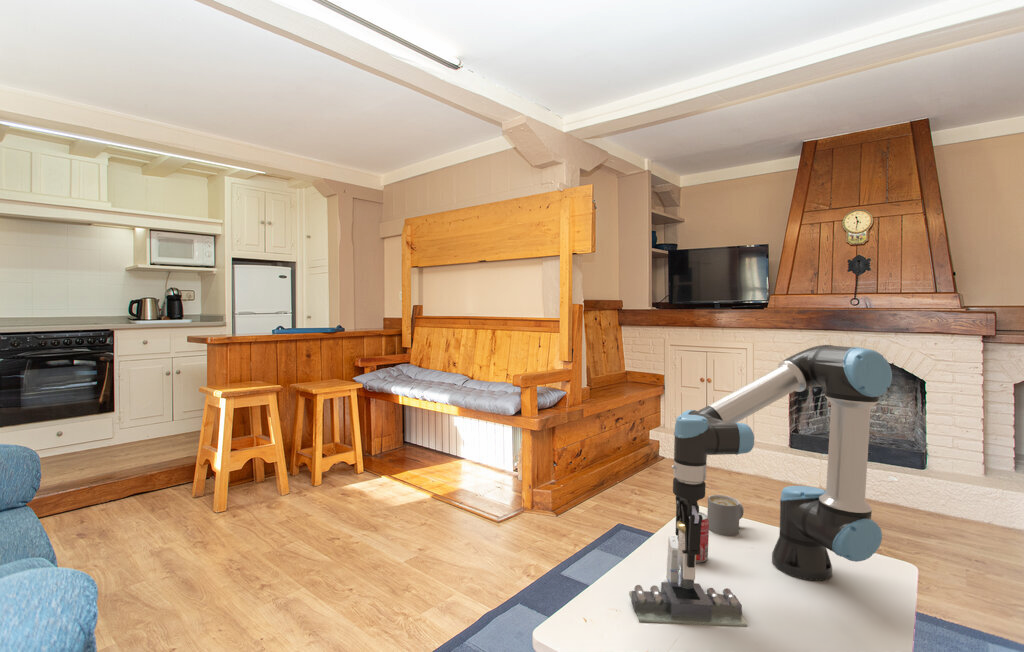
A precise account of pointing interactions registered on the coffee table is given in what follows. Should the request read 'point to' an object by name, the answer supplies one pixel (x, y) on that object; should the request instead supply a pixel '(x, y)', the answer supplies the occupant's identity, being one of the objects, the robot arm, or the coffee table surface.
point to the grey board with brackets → (686, 605)
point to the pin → (681, 546)
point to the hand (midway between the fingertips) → (686, 573)
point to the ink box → (672, 559)
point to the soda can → (703, 539)
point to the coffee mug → (724, 515)
